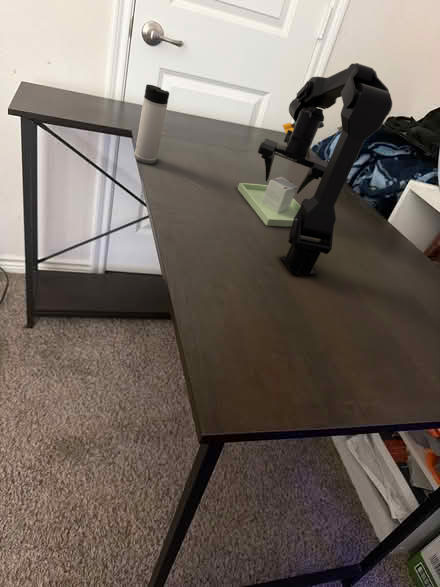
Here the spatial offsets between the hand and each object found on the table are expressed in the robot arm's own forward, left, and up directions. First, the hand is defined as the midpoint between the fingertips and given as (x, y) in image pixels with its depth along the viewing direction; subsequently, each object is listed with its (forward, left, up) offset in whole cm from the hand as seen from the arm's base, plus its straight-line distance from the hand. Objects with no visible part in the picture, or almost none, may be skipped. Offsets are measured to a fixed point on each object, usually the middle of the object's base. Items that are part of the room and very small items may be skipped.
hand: (281, 187), depth 118 cm
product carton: (0, 0, -6) cm, 6 cm away
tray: (0, 0, -6) cm, 7 cm away
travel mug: (+23, +32, -7) cm, 40 cm away
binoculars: (+42, -31, -7) cm, 52 cm away
